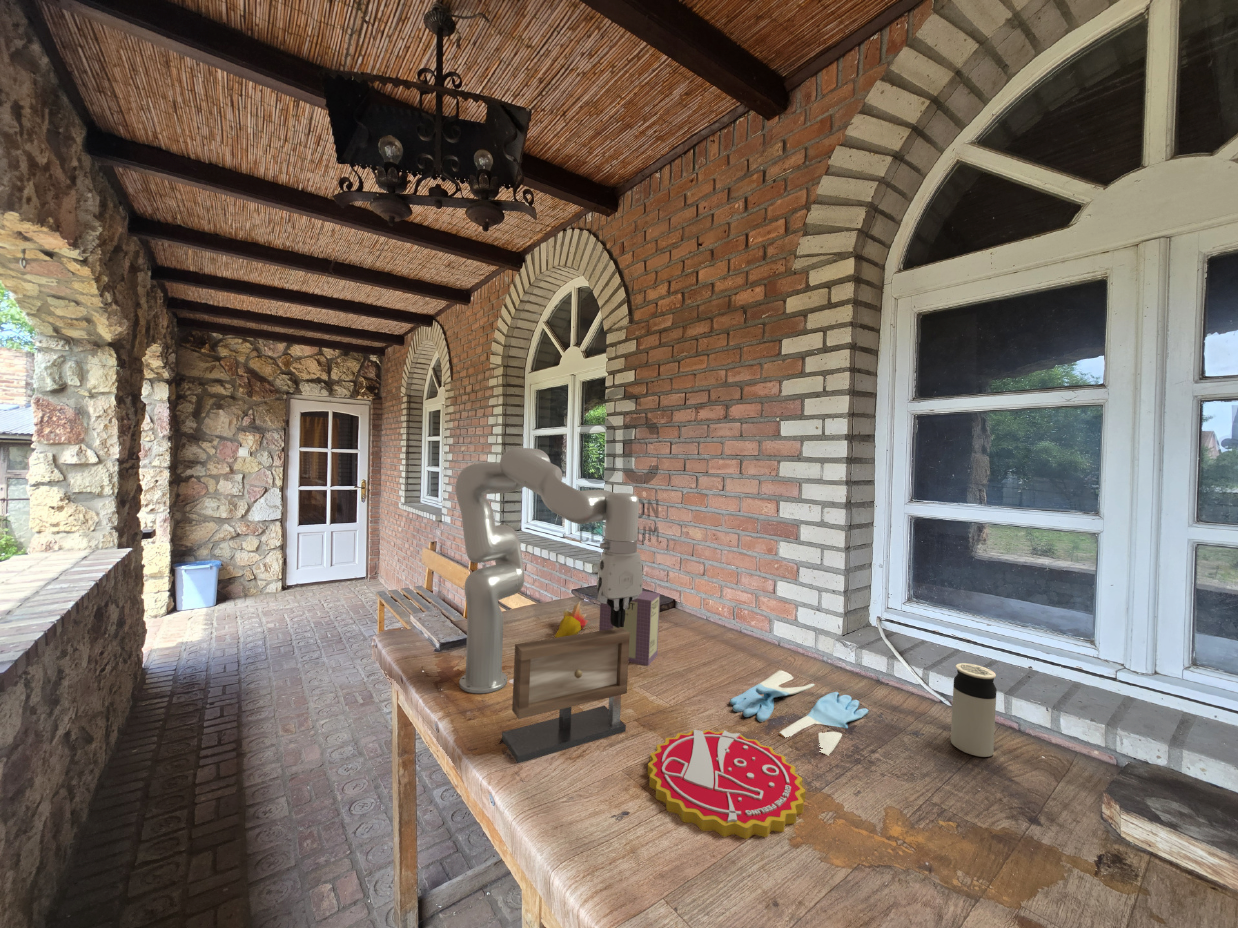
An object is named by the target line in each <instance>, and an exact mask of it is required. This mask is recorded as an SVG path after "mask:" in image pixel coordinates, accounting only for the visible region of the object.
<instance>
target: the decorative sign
mask: <svg viewBox="0 0 1238 928" xmlns="http://www.w3.org/2000/svg"><path fill="white" fill-rule="evenodd" d="M655 748H656V750H655V751H654V752H650V754H649V762H648V764H647V776H648V777H649V785H648V786H649V788H651V789H653V790H654V791H655V799H656V800H657V801H659V802H662V803H664V804H665V808H666V811H667V812H669V813H672V814H677V815H678V816H679V818H680V819H681V822H682V823H687V824H695V825H696V826H697V827H698V828H699V830H701V831H702V832H710V831H713V832H716V833H717V834H719V835H720V836H722V837H723V838H726V837H729V836H731V835H734V836H735V835H736V836H738V837H740V838H742V839H744V840H749V838H751V837H752V836H754V835H755V836H759V837H764V838H768V837H769V835H770V833H771V832H779V833H783V832H785V826H786V825H793V824H797V815H800V814H803V813H804V802H806V789H805V788H804V787H803V781H804V780H803V778H802V776H800V775H798V774H797V773H796V766H794V765H792V764H791V763H789V762H787V761H786V760H787V759H786V757H785V756H784V755H782V754H778V753H776V752H775V751H774V749H773V747H771V746H768V745H767V746H766V745H763V744H761V743H760V742H759V741H758V739H753V738H751V739H750V738H746V737H745V736H743V734H741V733H740V732H739V733H737V732H736V733H733V732H732V733H731V732H728V731H727V730H721V731H718V732H717V731H714V730H710V729H706V730H698V729H693V730H691V731H689V732H688V733H682V732H678V733H677V734H676V736H675V737H666V738H665V742H664V743H658V744H656V747H655Z"/></svg>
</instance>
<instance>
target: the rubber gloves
mask: <svg viewBox="0 0 1238 928" xmlns="http://www.w3.org/2000/svg"><path fill="white" fill-rule="evenodd" d="M793 679H794V676H792V674H790V673H789V672H787V671H784V670H781V669H780V670H777V671H776V672H774V673H773V674H772V675H770V676H769V677H767V678H766V679H765V680H763V681H761V682H759V683H758V684H755V685H754V686H751V687H750V688H748V689H747V690H746V691H744V692H742V693H740V694H738V695H737V696H734V697H732V698H731V699H730V700H729V703H730V705H731V706H732V710H733V711H734V712H735V713H741V712H742V715H743V716H744V717H745V718H749V717H752V716H755V715H756V720H757V721H758V722H760V723H762V722H763V723H764V722H765V721H767V720H768V719H770V717H771V716H772V714H773V711H774V708H775V700H774V698H778V697H779V698H780V697H787V696H791V695H796V694H799V693H802V692H804V691H807V690H809V689H812V688H813V687H815V683H809V684H806V685H802V686H796V687H781V686H780V685H782V684H784V683H787V682H789V681H791V680H793ZM859 706H860V701H859V700H857V699H853V698H852V697H851V695H848V694H843V695H840V693H839V692H838V691H834V692H830V693H828V694H826V695H823V696H822V697H820V698H819V699H817V701H816V703H815V704H814V705H813V707H812V708H811V709H810V711H809V713H807V715H805V716H804V717H802V718H800V719H798V720H797V721H795V722H793V723H791V724H789V725H788V726H787V727H785V728H783V729H782V730H781V731H779V732H778V735H779V736H780V737H782V738H784V737H785V738H784V739H786V737H789V736H790V737H792V736H793V735H794V734H797V733H798V732H800V731H801V730H803V729H805V728H807V727H810V726H812V725H814V724H815V725H823V726H824V725H826V726H832V727H837V728H844V729H848V728H849V726H848V723H849V722H853V721H856V720H860V719H862V718H863V717H865V716H866V715H867V714H869V709H867V708H865V707H864V708H860V709H859ZM824 732H825V731H824ZM842 736H843V733H841V732H839V731H838V732H837V731H828V732H827V731H826V732H825V733H822V732H818V746H819V745H820V746H819V747H821V748H823V749H820V750H821V751H819V752H821V753H820V754H822V753H823V754H822V755H824V754H825V755H824V756H826V755H827V756H826V757H829V756H830V755H831V754H832V752H833V751H834V749H835V748H836V746H837V745H838V744H839V742H840V740H841V738H842ZM790 737H789V738H790ZM819 743H820V744H819ZM819 752H818V753H819ZM830 753H831V754H830ZM829 754H830V755H829Z"/></svg>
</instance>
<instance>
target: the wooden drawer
mask: <svg viewBox="0 0 1238 928" xmlns="http://www.w3.org/2000/svg"><path fill="white" fill-rule="evenodd" d="M629 638H630V633H629V632H627V631H626V630H624V629H622V628H614V629H608V630H602V631H599V630H596V631H590V632H584V633H578V634H577V635H570V636H564V637H558V638H555V637H554V638H553V637H552V638H546V639H539V640H534V641H527V642H519V643H515V644H514V658H513V659H514V662H513V663H514V664H513V682H512V683H513V684H512V701H511V702H512V705H511V710H512V712H513V714H514V715H515V716H516V718H517V719H518V720H522V719H526V718H529V717H530V718H531V717H534V716H539V715H543V714H546V713H551V712H555V711H558V710H560V709H564V708H568V707H571V708H572V707H576V706H580V705H583V704H584V705H585V704H588V703H589V704H590V703H592V702H597V701H601V700H605V699H609V698H610V697H614V696H618V695H621V696H622V695H626V694H628V674H629V662H628V659H629Z"/></svg>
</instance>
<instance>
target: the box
mask: <svg viewBox="0 0 1238 928" xmlns="http://www.w3.org/2000/svg"><path fill="white" fill-rule="evenodd" d="M660 595H661V594H660V593H659V592H652V591H647V590H646V591H645V590H642V593H641V594H640V595H639V598H637V599H635V600H632V601H631V602H630V603H629V605H628V608H627V609H626V610H625V621H624V627H620V628H622V629H624V630H626V631H627V632H629V633H630V638H629V659H628V663H633V664H637V665H641V666H647V667H649V666H650V664H651V663H653V661H654V660H655V659H656V658H657V656H658V655H659V654H658V653H659V652H658V650H659V630H660V629H659V625H660V624H659V623H660V603H661V602H660V600H661V599H660V598H661V596H660ZM599 604H600V605H599V627H598V628H599V629H598V631H602V630H608V629H614V628H616V627H615V626H613V625H612V624H611V621H610V616H611V608H610V607H609V606H608V605H607V604H604V603H600V602H599Z"/></svg>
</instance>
